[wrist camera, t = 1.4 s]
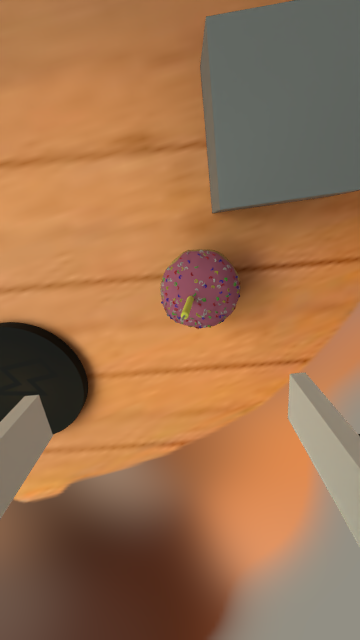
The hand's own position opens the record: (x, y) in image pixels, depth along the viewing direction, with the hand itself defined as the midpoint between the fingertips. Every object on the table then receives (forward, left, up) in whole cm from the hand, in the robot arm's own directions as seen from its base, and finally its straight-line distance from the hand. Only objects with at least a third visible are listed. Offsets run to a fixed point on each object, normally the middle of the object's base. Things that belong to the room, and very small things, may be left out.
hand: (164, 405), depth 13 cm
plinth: (-16, +12, -20) cm, 28 cm away
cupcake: (-2, +3, -20) cm, 21 cm away
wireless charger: (+9, -23, -21) cm, 32 cm away
